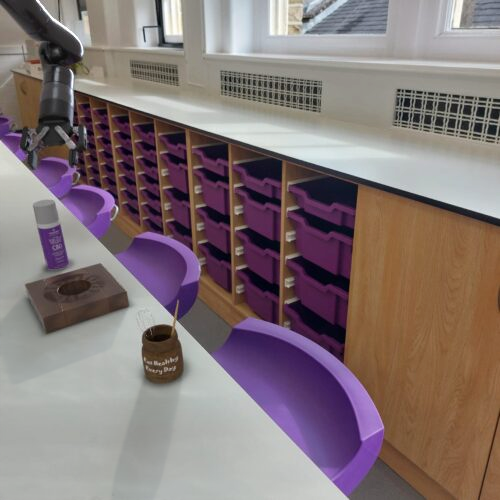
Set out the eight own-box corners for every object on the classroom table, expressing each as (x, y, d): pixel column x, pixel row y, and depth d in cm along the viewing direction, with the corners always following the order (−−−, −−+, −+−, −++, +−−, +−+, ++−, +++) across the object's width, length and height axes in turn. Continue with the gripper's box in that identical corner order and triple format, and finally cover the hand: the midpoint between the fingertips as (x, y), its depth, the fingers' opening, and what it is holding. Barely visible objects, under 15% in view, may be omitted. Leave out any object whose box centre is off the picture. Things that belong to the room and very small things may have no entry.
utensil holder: (147, 361, 76) (136, 295, 71) (187, 358, 77) (179, 291, 72) (142, 386, 71) (130, 316, 66) (185, 383, 71) (177, 313, 66)
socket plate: (46, 335, 84) (42, 317, 83) (28, 299, 95) (24, 284, 94) (129, 307, 91) (126, 291, 90) (103, 277, 103) (100, 262, 101)
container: (59, 272, 106) (44, 207, 99) (42, 270, 107) (26, 205, 101) (73, 263, 110) (60, 200, 103) (57, 261, 111) (42, 198, 105)
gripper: (19, 98, 111) (12, 160, 105) (82, 95, 111) (79, 156, 106) (32, 118, 118) (26, 177, 112) (92, 115, 118) (89, 173, 113)
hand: (52, 167), depth 109 cm, fingers open, 8 cm apart
